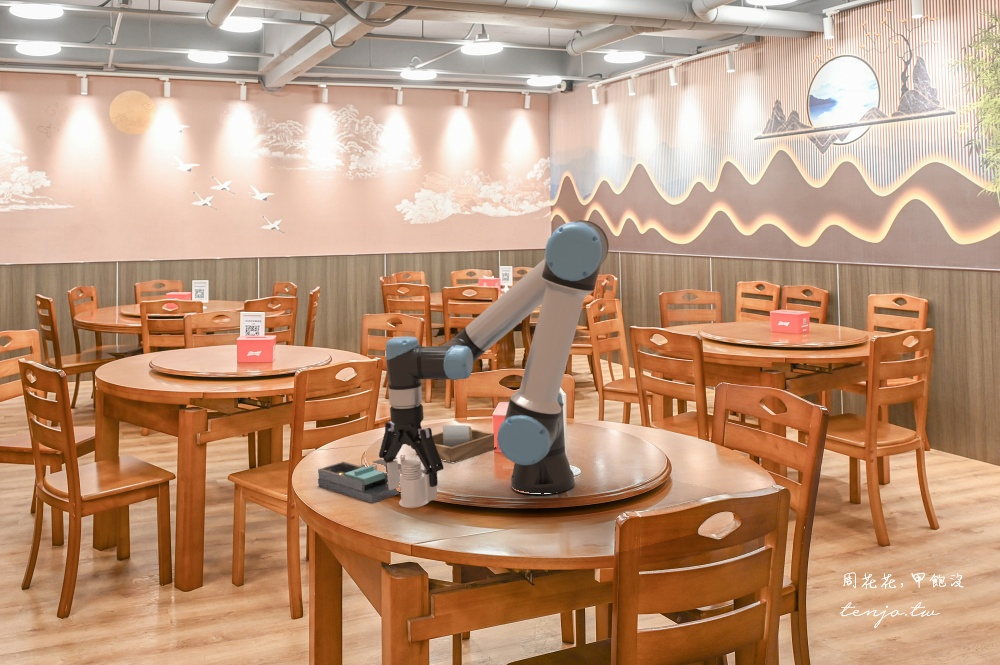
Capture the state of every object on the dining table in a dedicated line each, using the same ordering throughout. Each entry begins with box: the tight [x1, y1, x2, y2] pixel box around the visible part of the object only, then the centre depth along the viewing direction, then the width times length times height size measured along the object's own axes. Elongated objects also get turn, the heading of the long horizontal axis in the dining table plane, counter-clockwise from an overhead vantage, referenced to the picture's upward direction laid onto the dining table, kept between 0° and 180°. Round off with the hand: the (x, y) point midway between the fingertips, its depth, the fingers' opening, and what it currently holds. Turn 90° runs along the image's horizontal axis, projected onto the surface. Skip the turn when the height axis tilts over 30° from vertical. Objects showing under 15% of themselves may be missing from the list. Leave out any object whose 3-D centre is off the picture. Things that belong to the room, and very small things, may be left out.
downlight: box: [398, 458, 430, 509], centre depth 209 cm, size 8×7×10 cm
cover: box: [344, 466, 385, 485], centre depth 219 cm, size 8×6×2 cm
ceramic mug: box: [442, 424, 473, 447], centre depth 251 cm, size 11×8×8 cm
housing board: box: [317, 454, 427, 504], centre depth 226 cm, size 22×20×5 cm
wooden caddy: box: [418, 428, 495, 463], centre depth 250 cm, size 15×17×4 cm
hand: (412, 493), depth 210 cm, fingers open, 13 cm apart
